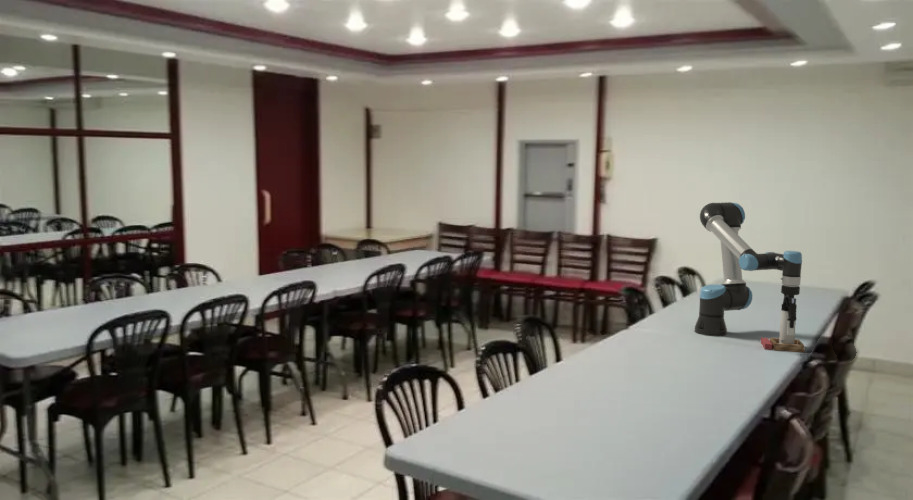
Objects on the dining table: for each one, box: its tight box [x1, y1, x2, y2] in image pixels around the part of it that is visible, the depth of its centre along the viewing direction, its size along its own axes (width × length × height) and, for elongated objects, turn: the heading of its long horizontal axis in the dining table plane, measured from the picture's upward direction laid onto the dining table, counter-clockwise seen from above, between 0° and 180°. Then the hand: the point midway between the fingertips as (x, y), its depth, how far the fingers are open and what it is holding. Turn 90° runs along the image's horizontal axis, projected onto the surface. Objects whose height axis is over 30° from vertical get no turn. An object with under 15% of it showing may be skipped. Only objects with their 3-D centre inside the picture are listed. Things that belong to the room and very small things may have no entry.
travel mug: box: [778, 303, 797, 344], centre depth 323 cm, size 6×7×20 cm
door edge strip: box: [760, 337, 773, 351], centre depth 327 cm, size 3×12×2 cm, turn 165°
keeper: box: [769, 337, 806, 353], centre depth 325 cm, size 13×13×3 cm
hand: (787, 331), depth 324 cm, fingers open, 13 cm apart
